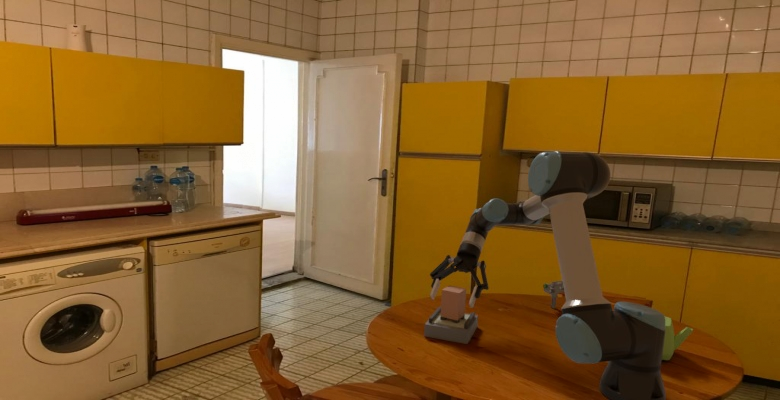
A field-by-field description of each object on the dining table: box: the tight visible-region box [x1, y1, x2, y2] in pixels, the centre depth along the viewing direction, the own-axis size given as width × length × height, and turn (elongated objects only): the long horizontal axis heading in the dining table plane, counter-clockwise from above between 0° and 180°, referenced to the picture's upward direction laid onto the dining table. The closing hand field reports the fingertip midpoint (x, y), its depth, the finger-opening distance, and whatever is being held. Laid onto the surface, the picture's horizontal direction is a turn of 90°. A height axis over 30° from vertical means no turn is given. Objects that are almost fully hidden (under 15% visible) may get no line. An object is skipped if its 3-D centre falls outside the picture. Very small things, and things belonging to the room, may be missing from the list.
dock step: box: [423, 306, 479, 345], centre depth 166 cm, size 16×14×6 cm
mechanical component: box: [542, 280, 565, 309], centre depth 193 cm, size 3×10×10 cm, turn 115°
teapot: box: [662, 315, 694, 361], centre depth 154 cm, size 18×20×13 cm
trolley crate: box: [440, 285, 467, 323], centre depth 165 cm, size 6×6×10 cm
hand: (450, 301), depth 163 cm, fingers open, 13 cm apart
